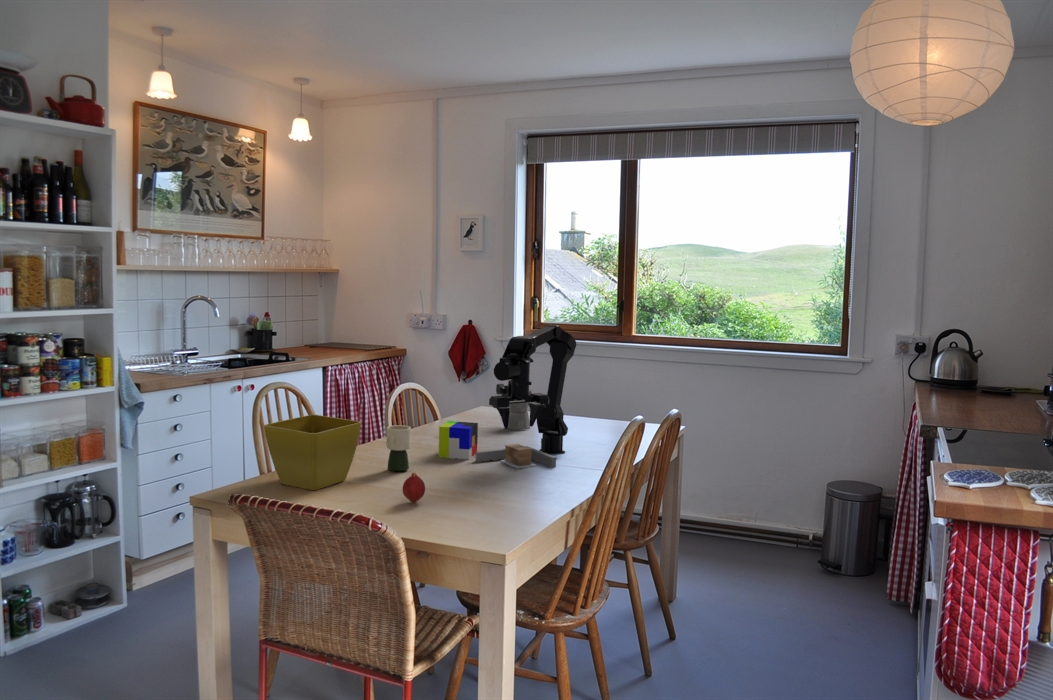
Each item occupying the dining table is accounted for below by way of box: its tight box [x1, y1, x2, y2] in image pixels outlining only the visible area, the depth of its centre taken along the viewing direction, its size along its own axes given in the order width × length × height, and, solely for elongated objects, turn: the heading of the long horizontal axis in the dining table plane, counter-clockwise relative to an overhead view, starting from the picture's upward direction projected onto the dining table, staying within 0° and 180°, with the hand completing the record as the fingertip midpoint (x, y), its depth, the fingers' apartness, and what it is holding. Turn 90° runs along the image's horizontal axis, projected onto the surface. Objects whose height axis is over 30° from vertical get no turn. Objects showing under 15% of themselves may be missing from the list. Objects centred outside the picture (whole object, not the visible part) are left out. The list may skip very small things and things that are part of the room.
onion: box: [402, 472, 426, 504], centre depth 200 cm, size 6×6×8 cm
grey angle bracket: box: [475, 445, 557, 468], centre depth 244 cm, size 19×17×3 cm
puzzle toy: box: [438, 420, 479, 460], centre depth 253 cm, size 10×10×10 cm
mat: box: [499, 459, 537, 469], centre depth 244 cm, size 7×10×1 cm
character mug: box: [385, 424, 412, 473], centre depth 232 cm, size 11×7×13 cm, turn 168°
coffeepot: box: [508, 388, 533, 431], centre depth 299 cm, size 15×9×18 cm, turn 44°
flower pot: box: [263, 414, 362, 491], centre depth 216 cm, size 19×19×17 cm
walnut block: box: [504, 443, 532, 466], centre depth 244 cm, size 8×4×5 cm, turn 35°
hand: (518, 427), depth 243 cm, fingers open, 9 cm apart
